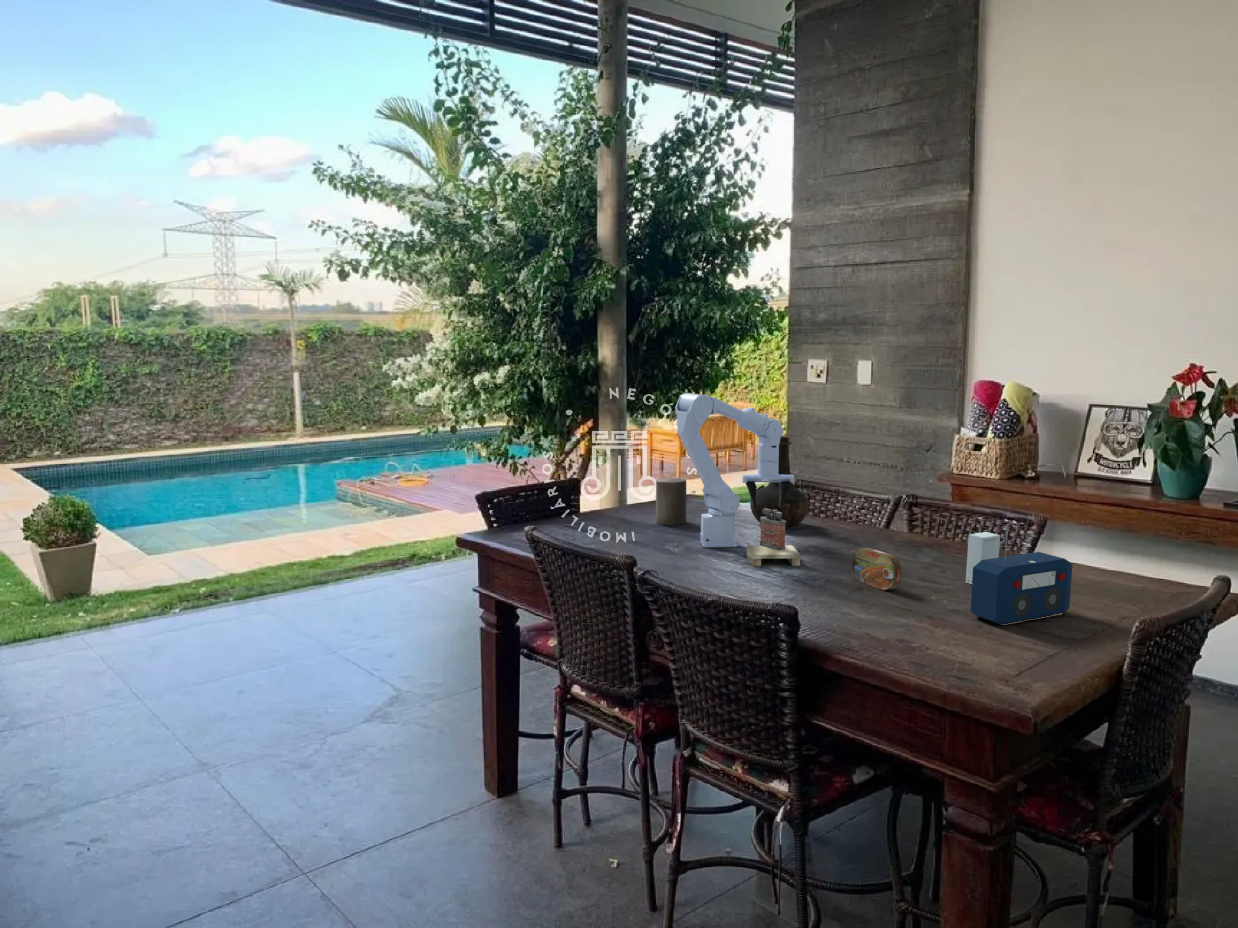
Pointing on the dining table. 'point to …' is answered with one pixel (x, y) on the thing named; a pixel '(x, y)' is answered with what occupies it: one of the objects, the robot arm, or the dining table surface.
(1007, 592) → the radio
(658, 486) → the pillar candle
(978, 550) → the skincare box
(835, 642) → the dining table surface
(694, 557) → the dining table surface
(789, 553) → the shelf stand
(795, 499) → the dark brown vase
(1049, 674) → the dining table surface
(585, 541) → the dining table surface
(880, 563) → the tin
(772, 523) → the lighter
